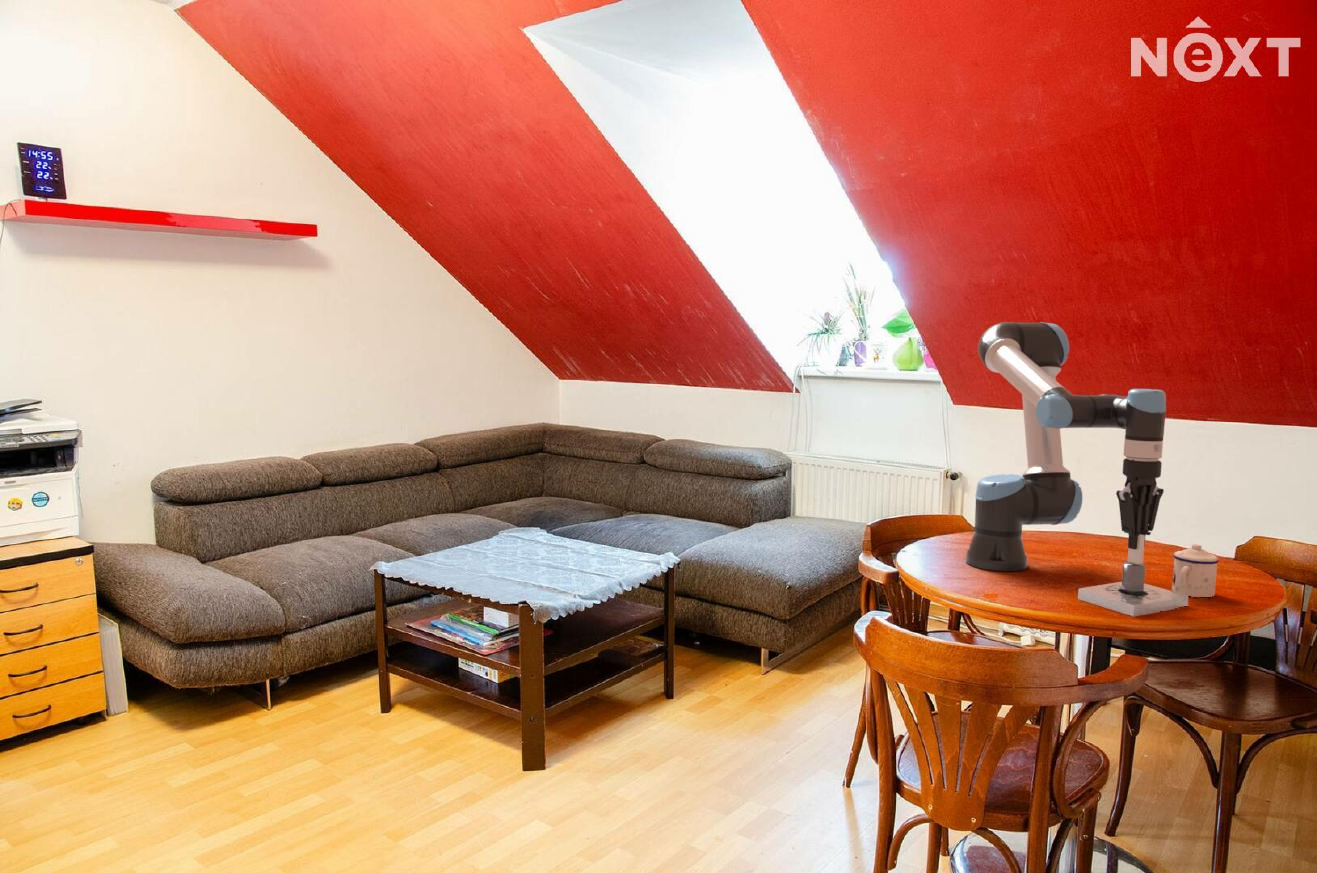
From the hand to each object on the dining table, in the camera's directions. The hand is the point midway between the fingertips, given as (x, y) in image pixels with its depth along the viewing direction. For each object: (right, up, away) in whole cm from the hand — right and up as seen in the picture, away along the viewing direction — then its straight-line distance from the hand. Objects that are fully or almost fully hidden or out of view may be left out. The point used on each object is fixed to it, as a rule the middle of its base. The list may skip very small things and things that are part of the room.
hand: (1135, 562), depth 202 cm
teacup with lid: (+17, -9, +8) cm, 21 cm away
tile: (0, -9, +1) cm, 9 cm away
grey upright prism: (0, -9, +1) cm, 9 cm away
